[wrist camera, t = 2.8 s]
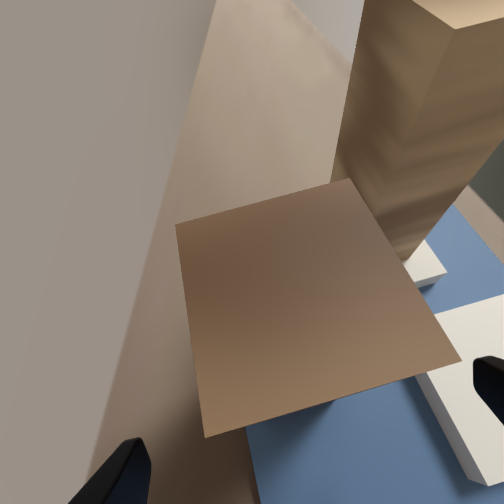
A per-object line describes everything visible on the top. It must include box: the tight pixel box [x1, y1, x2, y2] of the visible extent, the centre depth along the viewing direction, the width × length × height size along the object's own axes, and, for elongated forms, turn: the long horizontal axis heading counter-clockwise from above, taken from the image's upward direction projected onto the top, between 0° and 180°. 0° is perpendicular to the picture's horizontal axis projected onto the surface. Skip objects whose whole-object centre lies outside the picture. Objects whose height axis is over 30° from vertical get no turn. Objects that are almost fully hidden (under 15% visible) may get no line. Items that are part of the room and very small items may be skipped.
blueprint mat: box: [245, 204, 504, 504], centre depth 15 cm, size 24×18×2 cm
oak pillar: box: [330, 0, 504, 260], centre depth 13 cm, size 4×4×12 cm
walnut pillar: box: [175, 178, 462, 438], centre depth 11 cm, size 4×4×12 cm
